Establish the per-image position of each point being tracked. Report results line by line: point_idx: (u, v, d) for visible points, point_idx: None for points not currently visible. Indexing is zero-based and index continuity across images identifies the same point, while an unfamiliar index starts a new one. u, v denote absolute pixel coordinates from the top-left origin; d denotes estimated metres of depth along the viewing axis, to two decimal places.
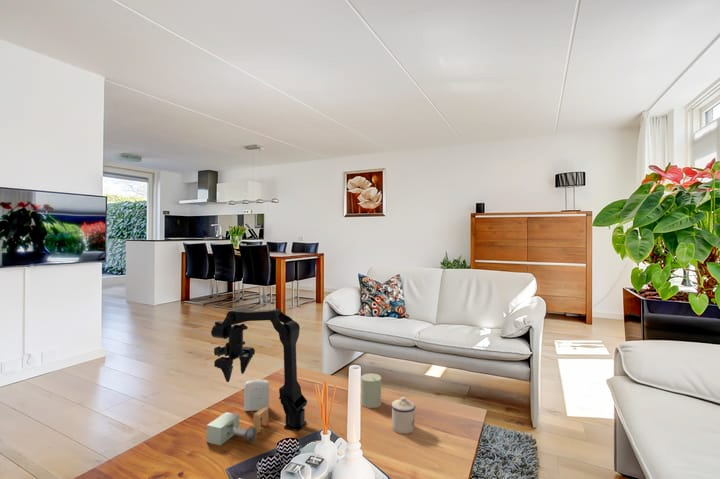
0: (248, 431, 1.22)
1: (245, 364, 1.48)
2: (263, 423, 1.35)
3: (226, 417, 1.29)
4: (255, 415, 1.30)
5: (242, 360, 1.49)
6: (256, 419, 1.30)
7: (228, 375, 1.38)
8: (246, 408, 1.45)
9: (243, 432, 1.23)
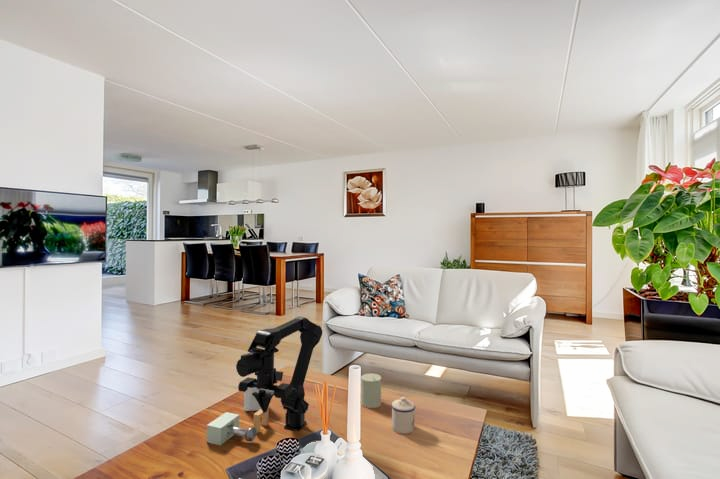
0: (248, 431, 1.22)
1: None
2: (263, 423, 1.35)
3: (226, 417, 1.29)
4: (255, 415, 1.30)
5: None
6: (256, 419, 1.30)
7: None
8: (246, 408, 1.45)
9: (243, 432, 1.23)
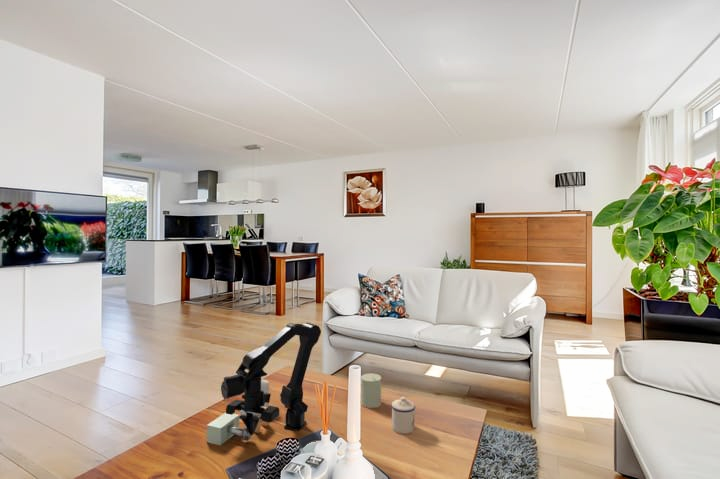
0: (244, 430, 1.22)
1: None
2: (263, 423, 1.35)
3: (226, 417, 1.29)
4: None
5: None
6: None
7: None
8: None
9: (239, 431, 1.24)
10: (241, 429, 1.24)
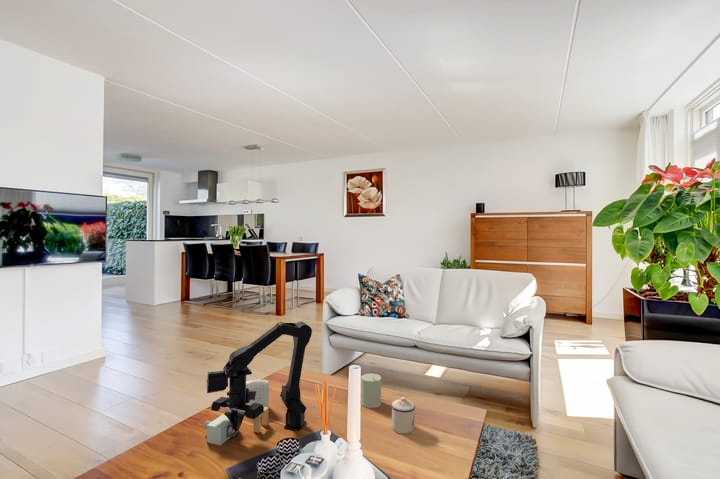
0: (229, 427, 1.24)
1: None
2: (263, 423, 1.35)
3: (226, 417, 1.29)
4: None
5: None
6: (256, 419, 1.30)
7: None
8: None
9: None
10: None
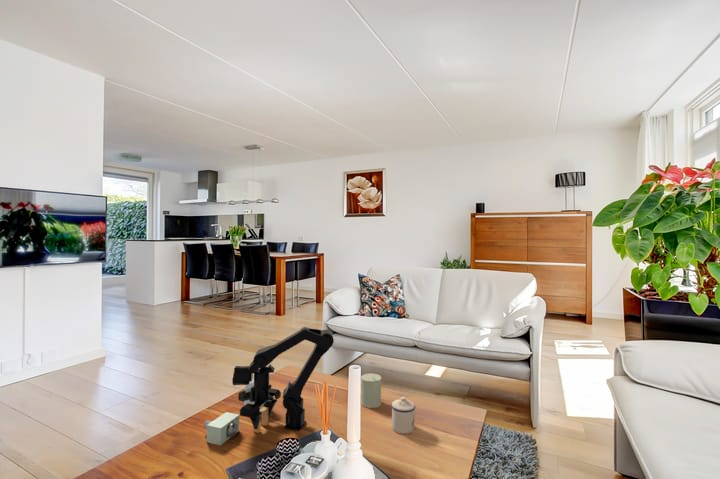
0: (229, 427, 1.24)
1: (269, 410, 1.36)
2: (263, 423, 1.35)
3: (226, 417, 1.29)
4: None
5: (266, 405, 1.36)
6: None
7: (256, 422, 1.28)
8: None
9: None
10: None
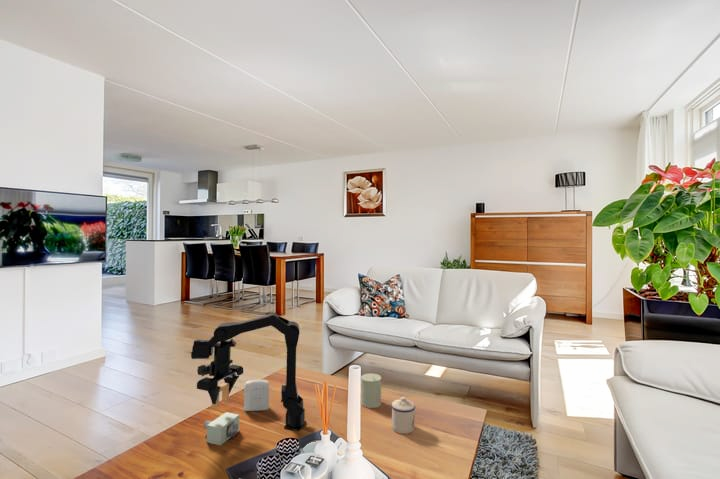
0: (229, 427, 1.24)
1: (230, 386, 1.33)
2: (223, 399, 1.32)
3: (226, 417, 1.29)
4: None
5: (227, 381, 1.33)
6: None
7: (214, 397, 1.25)
8: (246, 408, 1.45)
9: None
10: None
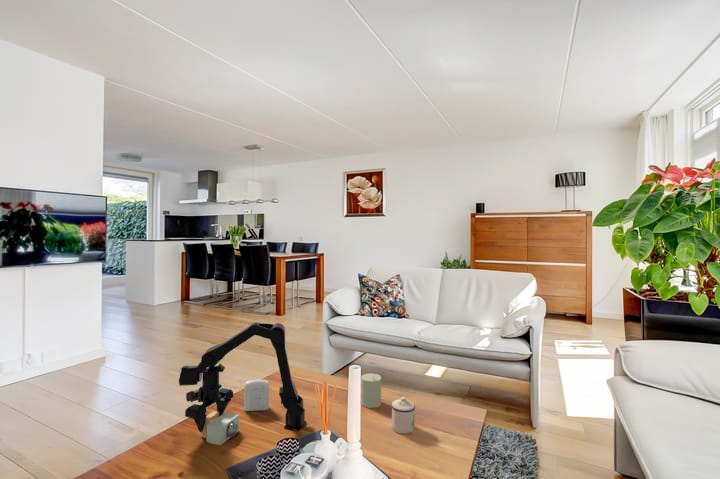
0: (229, 427, 1.24)
1: (222, 409, 1.33)
2: None
3: (226, 417, 1.29)
4: None
5: (219, 404, 1.34)
6: None
7: (201, 425, 1.23)
8: (246, 408, 1.45)
9: None
10: None
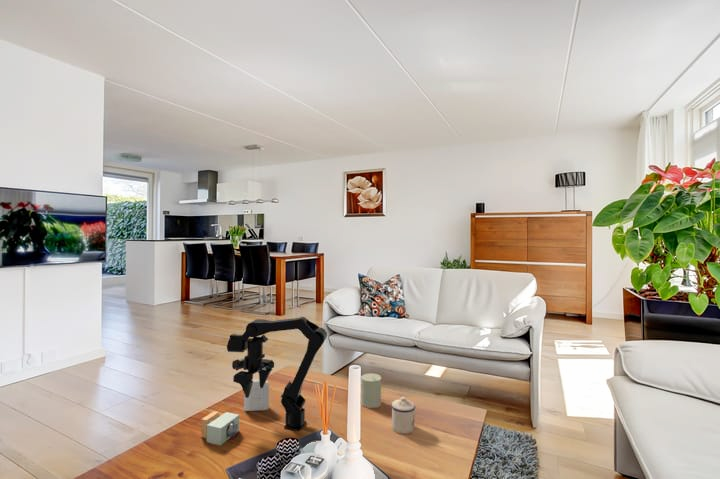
0: (229, 427, 1.24)
1: (264, 378, 1.40)
2: None
3: (226, 417, 1.29)
4: (203, 420, 1.26)
5: (261, 374, 1.41)
6: (204, 424, 1.26)
7: (248, 390, 1.30)
8: (246, 408, 1.45)
9: None
10: None
